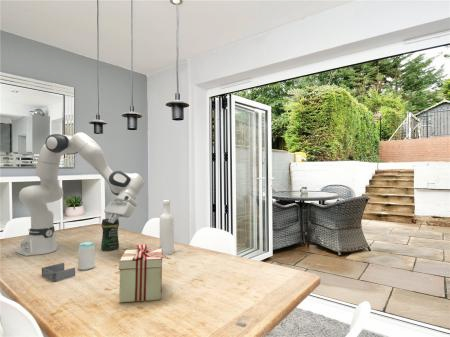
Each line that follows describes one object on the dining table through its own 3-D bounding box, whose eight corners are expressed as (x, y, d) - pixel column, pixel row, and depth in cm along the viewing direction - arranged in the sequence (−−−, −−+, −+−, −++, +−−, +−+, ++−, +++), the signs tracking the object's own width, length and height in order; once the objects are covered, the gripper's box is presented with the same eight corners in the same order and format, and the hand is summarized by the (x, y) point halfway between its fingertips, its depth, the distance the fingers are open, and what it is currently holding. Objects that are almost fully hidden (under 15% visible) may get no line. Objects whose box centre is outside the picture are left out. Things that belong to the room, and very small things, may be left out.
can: (92, 270, 132) (92, 244, 132) (76, 271, 131) (76, 245, 131) (96, 265, 139) (96, 241, 139) (81, 266, 138) (81, 241, 138)
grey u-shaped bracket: (63, 270, 132) (63, 262, 132) (75, 275, 125) (75, 268, 125) (41, 275, 125) (41, 267, 125) (53, 282, 117) (53, 274, 117)
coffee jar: (104, 252, 161) (104, 220, 161) (99, 249, 166) (99, 218, 167) (121, 249, 167) (120, 218, 168) (115, 246, 173) (115, 216, 173)
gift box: (172, 298, 102) (172, 251, 102) (118, 305, 97) (118, 255, 97) (168, 280, 118) (168, 240, 119) (121, 286, 113) (121, 243, 113)
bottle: (170, 255, 154) (170, 201, 154) (157, 254, 155) (157, 200, 156) (175, 251, 162) (175, 199, 162) (163, 250, 163) (163, 199, 163)
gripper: (110, 195, 157) (95, 217, 150) (131, 197, 144) (116, 221, 137) (118, 202, 160) (104, 223, 154) (140, 204, 148) (125, 227, 141)
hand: (110, 222), depth 145 cm, fingers closed
